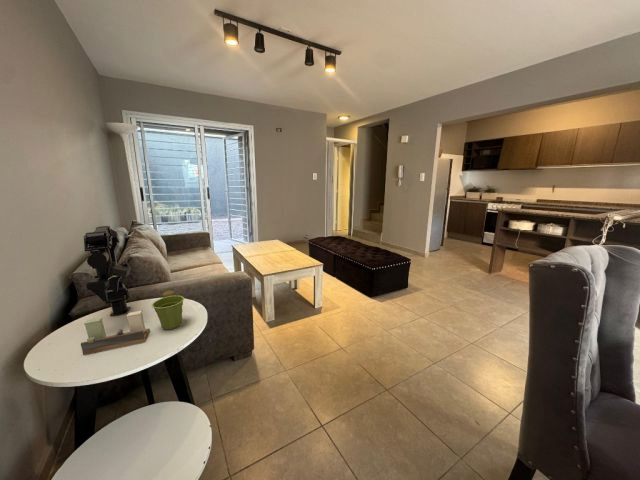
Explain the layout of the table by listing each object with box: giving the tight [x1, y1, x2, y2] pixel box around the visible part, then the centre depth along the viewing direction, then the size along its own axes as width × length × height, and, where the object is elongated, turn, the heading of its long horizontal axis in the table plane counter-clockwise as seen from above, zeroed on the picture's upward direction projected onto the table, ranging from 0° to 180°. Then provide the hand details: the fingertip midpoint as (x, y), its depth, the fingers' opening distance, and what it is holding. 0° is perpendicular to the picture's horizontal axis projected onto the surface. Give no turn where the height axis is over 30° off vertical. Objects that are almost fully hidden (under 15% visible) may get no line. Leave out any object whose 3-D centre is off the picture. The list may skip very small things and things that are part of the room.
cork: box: [162, 289, 177, 298], centre depth 118 cm, size 6×6×11 cm
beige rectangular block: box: [126, 310, 146, 333], centre depth 100 cm, size 3×4×9 cm, turn 111°
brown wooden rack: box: [80, 327, 151, 356], centre depth 97 cm, size 8×19×6 cm, turn 111°
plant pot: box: [151, 295, 185, 330], centre depth 108 cm, size 12×12×11 cm
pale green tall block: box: [83, 317, 107, 340], centre depth 96 cm, size 3×4×9 cm, turn 111°
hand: (111, 296), depth 108 cm, fingers open, 9 cm apart
